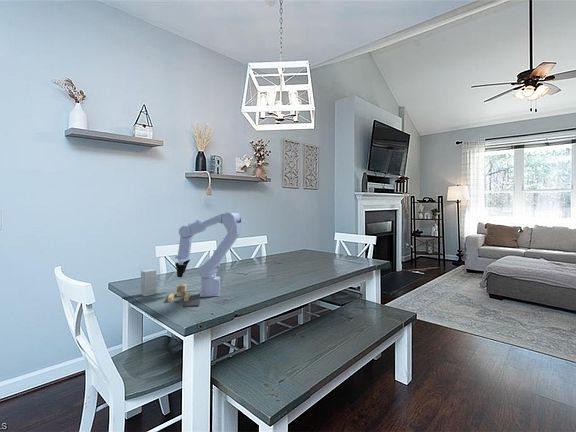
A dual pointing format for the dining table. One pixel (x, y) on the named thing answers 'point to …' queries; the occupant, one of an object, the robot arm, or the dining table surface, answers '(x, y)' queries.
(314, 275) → the dining table surface
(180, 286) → the plug block
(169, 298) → the pair of wooden bars
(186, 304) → the rubber mat
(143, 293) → the skincare box
